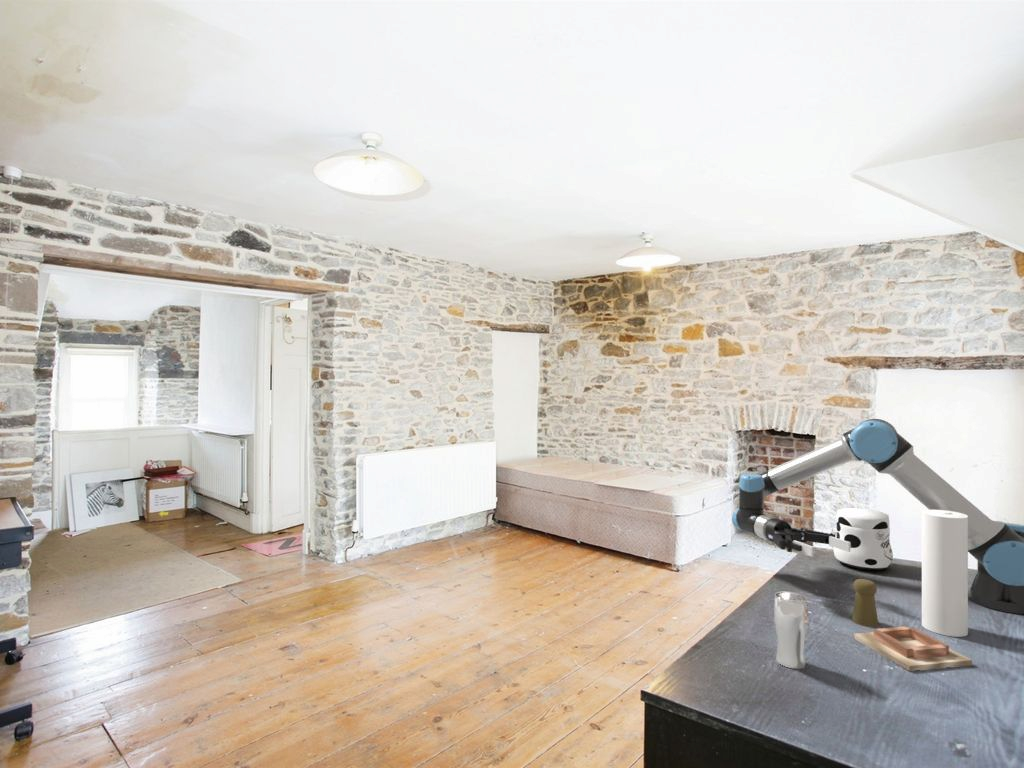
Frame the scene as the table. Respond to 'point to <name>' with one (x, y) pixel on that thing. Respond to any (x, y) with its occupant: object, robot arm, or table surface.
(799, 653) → the beer glass
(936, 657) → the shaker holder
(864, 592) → the cork
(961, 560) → the cylinder container
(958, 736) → the table surface
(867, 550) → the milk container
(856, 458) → the robot arm
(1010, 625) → the table surface
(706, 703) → the table surface
